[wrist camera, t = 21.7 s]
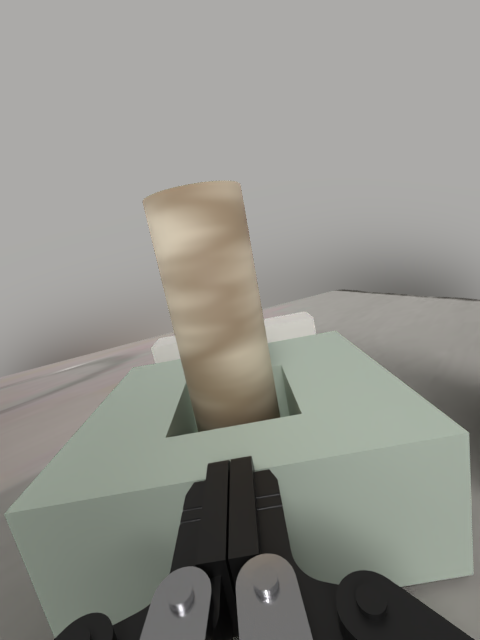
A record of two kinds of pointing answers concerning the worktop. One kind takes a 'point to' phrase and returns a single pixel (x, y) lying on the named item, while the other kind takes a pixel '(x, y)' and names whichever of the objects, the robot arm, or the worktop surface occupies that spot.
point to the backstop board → (274, 328)
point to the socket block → (267, 453)
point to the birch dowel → (214, 301)
